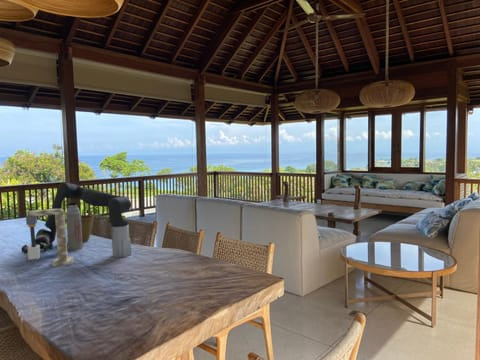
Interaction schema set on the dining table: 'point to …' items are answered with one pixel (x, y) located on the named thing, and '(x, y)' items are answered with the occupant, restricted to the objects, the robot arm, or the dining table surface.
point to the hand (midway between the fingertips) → (35, 250)
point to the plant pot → (86, 226)
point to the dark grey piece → (32, 231)
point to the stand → (57, 234)
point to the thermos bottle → (74, 227)
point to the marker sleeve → (34, 252)
